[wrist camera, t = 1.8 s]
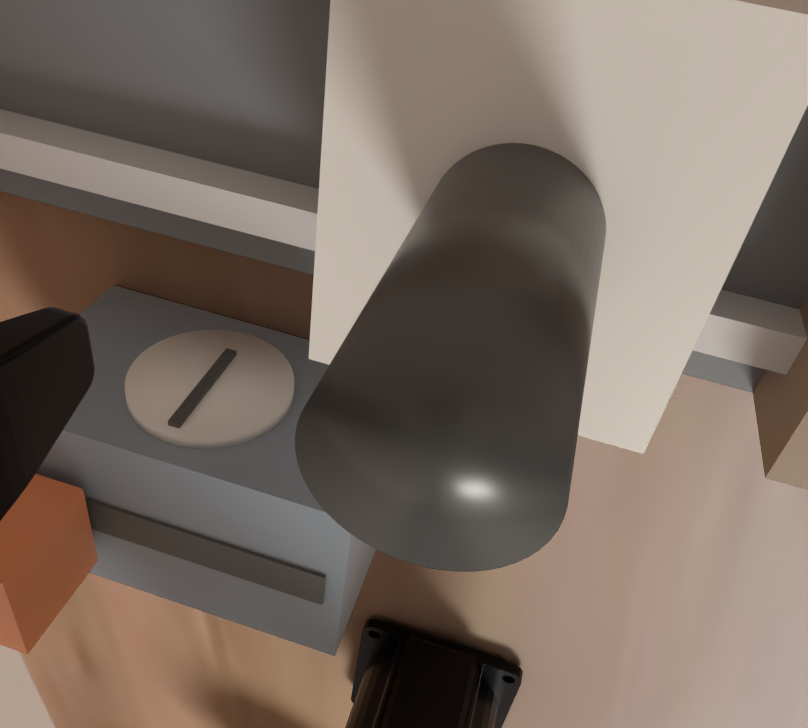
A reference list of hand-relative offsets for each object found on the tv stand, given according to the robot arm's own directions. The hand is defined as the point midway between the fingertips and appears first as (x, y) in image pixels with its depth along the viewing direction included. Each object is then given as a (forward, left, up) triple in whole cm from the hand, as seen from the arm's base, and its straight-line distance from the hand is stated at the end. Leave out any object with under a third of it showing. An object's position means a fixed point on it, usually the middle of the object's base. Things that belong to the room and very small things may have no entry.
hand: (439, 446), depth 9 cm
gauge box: (-11, +7, -11) cm, 17 cm away
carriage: (0, 0, -8) cm, 8 cm away
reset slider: (-11, +10, -5) cm, 16 cm away
